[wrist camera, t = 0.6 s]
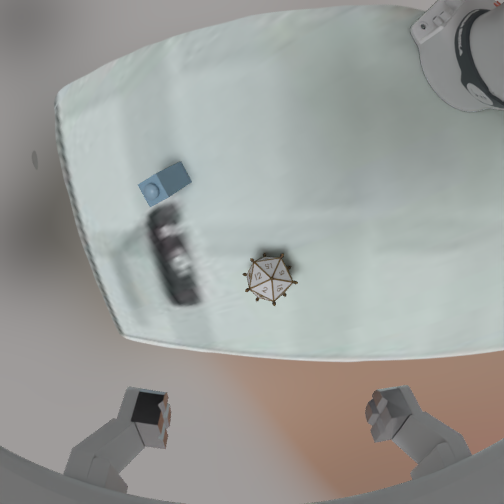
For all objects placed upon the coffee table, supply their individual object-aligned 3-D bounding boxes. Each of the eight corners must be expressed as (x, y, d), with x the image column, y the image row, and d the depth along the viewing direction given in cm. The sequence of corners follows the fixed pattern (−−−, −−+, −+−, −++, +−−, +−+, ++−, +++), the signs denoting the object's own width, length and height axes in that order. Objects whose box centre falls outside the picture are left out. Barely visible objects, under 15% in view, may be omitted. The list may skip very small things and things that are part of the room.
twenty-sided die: (286, 261, 56) (298, 311, 50) (241, 268, 55) (249, 319, 50) (290, 234, 48) (304, 290, 43) (237, 242, 48) (246, 300, 42)
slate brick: (180, 161, 47) (153, 175, 40) (191, 181, 48) (166, 199, 41) (163, 171, 49) (134, 186, 41) (174, 191, 50) (147, 209, 43)
